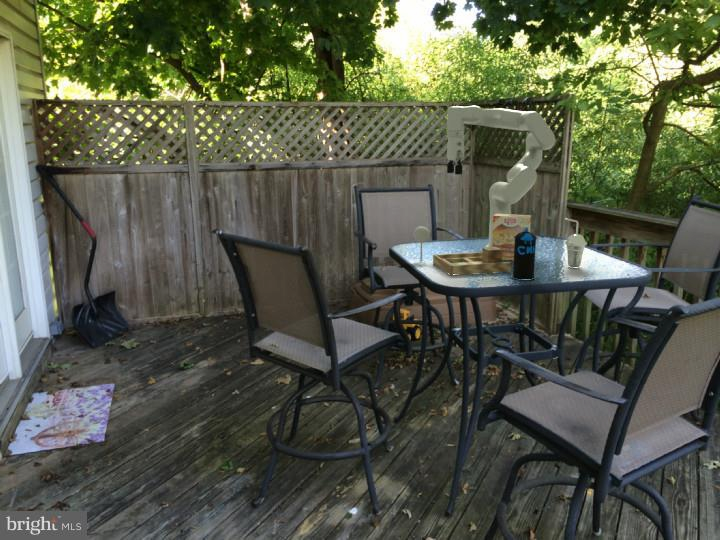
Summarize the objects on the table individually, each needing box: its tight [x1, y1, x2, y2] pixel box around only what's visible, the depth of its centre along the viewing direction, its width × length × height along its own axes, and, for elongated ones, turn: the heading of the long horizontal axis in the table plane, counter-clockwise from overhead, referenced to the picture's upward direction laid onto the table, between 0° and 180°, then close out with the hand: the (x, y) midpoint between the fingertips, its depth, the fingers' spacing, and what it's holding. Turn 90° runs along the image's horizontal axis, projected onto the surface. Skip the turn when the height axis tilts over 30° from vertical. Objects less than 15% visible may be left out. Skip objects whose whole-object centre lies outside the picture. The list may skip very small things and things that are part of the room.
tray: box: [432, 251, 512, 276], centre depth 238 cm, size 25×22×4 cm
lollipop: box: [413, 225, 431, 261], centre depth 253 cm, size 7×7×15 cm
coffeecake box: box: [492, 213, 532, 261], centre depth 252 cm, size 15×7×20 cm, turn 65°
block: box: [481, 246, 503, 263], centre depth 235 cm, size 6×6×6 cm
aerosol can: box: [512, 226, 538, 279], centre depth 219 cm, size 8×8×20 cm
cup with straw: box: [564, 217, 588, 267], centre depth 235 cm, size 8×9×20 cm
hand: (454, 173), depth 264 cm, fingers open, 9 cm apart
